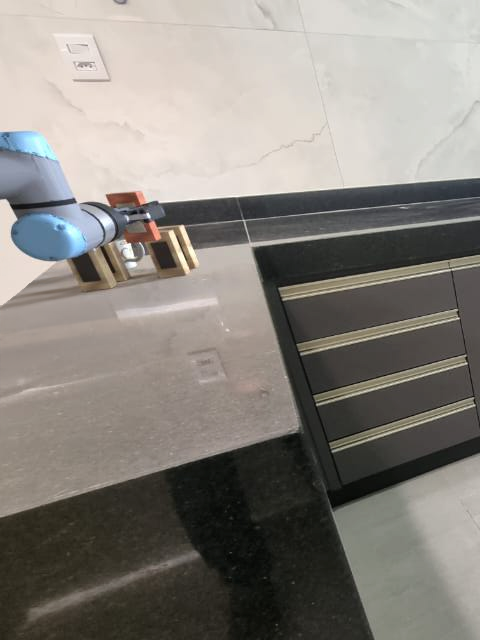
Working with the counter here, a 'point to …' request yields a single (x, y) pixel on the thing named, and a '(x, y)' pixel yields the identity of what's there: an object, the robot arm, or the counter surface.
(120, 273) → the tan photo frame
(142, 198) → the orange picture frame
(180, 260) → the wooden picture frame
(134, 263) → the mug
